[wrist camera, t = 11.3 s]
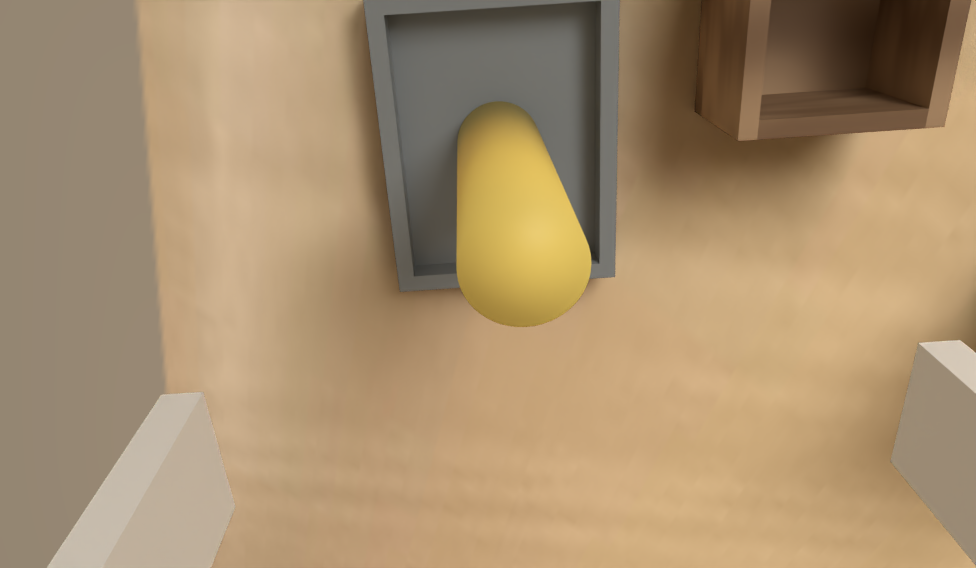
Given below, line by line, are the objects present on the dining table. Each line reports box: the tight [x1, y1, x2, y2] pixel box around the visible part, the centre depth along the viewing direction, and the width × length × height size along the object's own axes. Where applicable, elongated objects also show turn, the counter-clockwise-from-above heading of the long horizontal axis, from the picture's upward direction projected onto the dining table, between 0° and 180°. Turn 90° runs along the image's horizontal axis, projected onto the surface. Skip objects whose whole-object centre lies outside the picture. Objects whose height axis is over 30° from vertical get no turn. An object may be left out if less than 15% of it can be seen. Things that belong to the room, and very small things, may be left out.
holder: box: [695, 0, 971, 141], centre depth 30 cm, size 9×9×6 cm
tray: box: [363, 0, 620, 292], centre depth 34 cm, size 14×11×2 cm
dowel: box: [457, 101, 591, 327], centre depth 28 cm, size 4×4×15 cm
